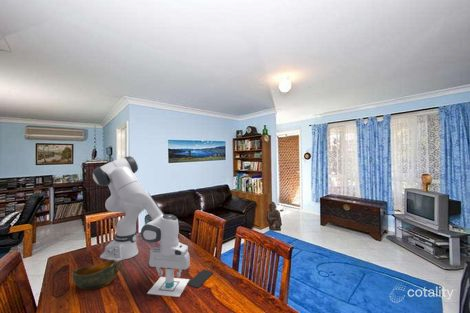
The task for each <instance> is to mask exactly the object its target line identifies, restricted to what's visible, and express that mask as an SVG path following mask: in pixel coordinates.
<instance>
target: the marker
mask: <svg viewBox="0 0 470 313" xmlns="http://www.w3.org/2000/svg"><path fill="white" fill-rule="evenodd" d="M164 274H165V276H164V277H165V287H166V288H172V287H173V286H174V278H175V269H174V268H165V273H164Z"/></svg>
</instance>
